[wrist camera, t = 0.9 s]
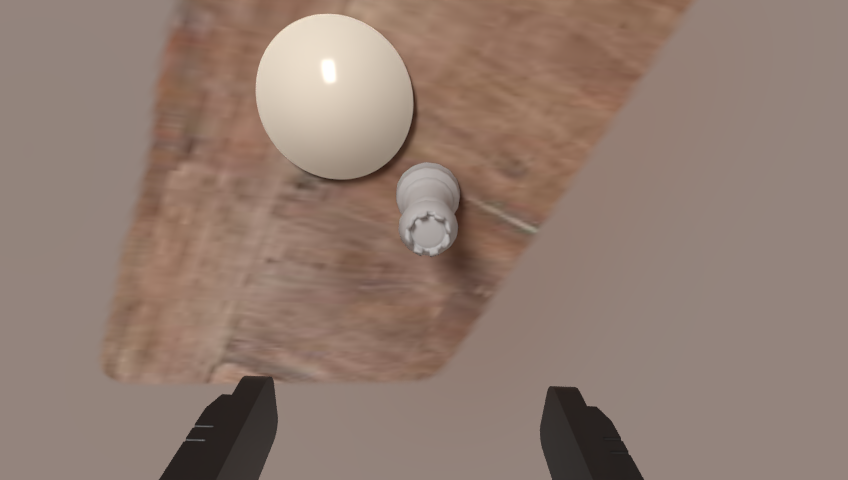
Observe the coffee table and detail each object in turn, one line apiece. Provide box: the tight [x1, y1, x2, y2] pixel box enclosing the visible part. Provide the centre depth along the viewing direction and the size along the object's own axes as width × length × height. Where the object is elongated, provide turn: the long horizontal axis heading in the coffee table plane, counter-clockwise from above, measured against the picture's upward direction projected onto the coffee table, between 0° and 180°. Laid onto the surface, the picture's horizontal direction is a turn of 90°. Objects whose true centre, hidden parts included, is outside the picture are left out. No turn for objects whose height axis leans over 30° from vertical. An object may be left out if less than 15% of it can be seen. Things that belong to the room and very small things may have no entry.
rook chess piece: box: [396, 162, 460, 257], centre depth 25 cm, size 4×4×8 cm
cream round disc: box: [256, 14, 414, 180], centre depth 26 cm, size 10×10×1 cm
